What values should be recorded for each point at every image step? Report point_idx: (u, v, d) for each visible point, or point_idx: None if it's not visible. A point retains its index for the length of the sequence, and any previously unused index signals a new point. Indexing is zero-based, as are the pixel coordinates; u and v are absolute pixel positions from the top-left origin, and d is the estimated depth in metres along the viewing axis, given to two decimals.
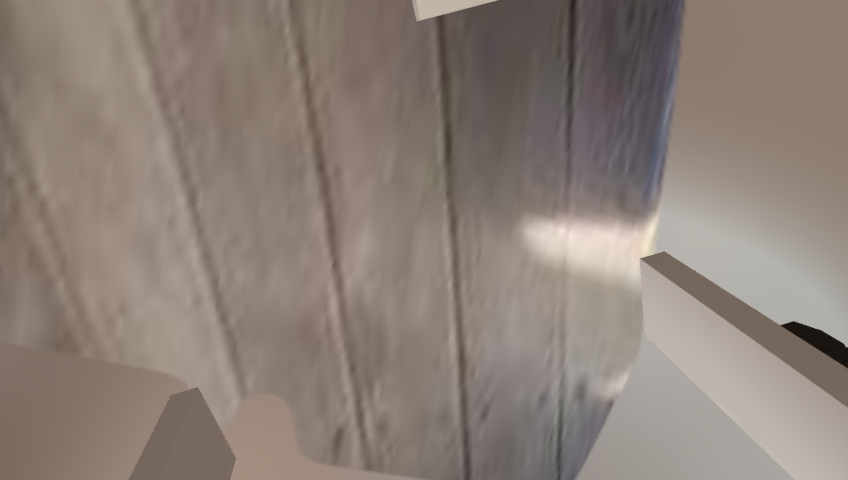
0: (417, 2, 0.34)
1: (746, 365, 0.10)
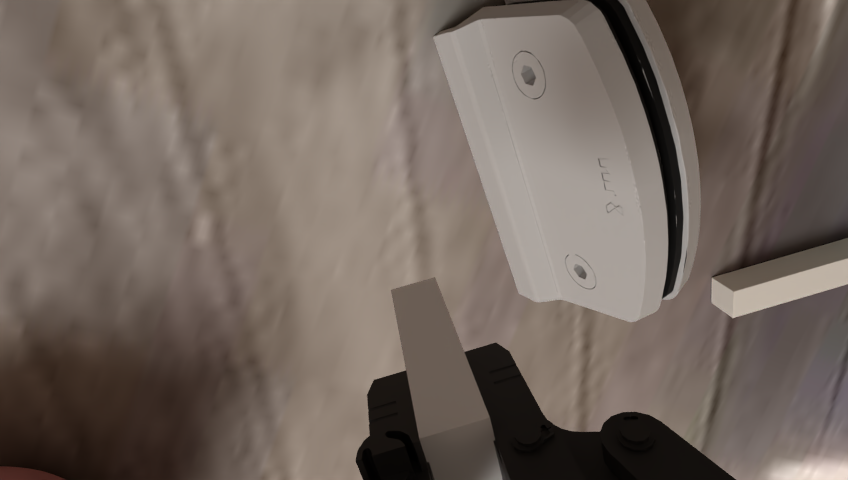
0: (734, 302, 0.31)
1: None
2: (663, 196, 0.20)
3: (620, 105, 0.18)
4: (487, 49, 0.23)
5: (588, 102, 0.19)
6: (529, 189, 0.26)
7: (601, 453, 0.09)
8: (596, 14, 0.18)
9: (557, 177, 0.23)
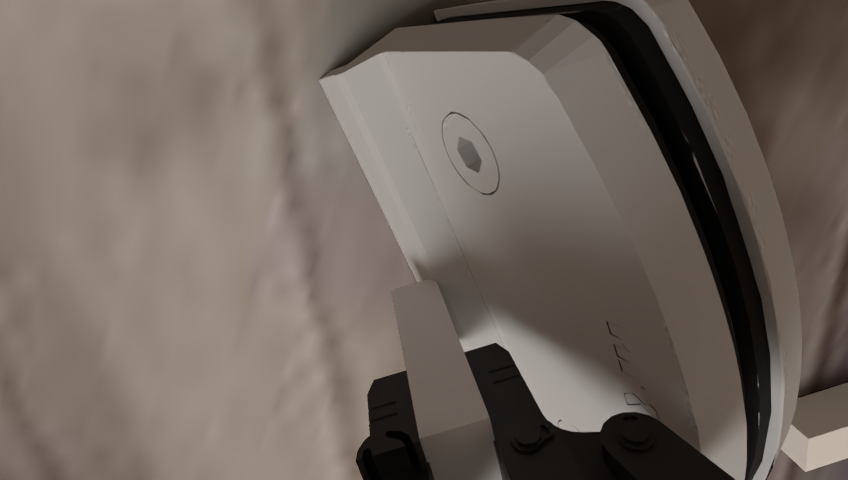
0: (808, 452, 0.21)
1: None
2: (741, 400, 0.10)
3: (651, 242, 0.08)
4: (401, 103, 0.13)
5: (580, 226, 0.09)
6: (494, 316, 0.16)
7: (601, 453, 0.09)
8: (590, 48, 0.08)
9: (535, 318, 0.13)
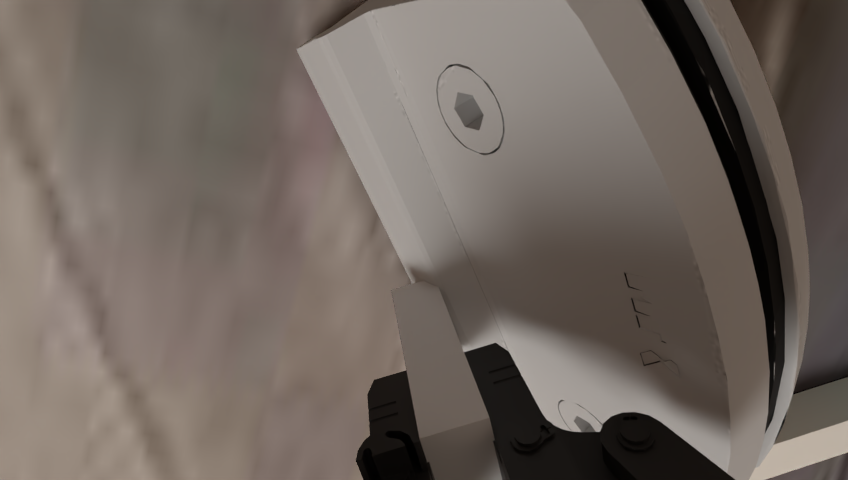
0: None
1: None
2: (765, 344, 0.09)
3: (679, 173, 0.08)
4: (390, 66, 0.12)
5: (600, 166, 0.09)
6: (489, 295, 0.15)
7: (601, 453, 0.09)
8: None
9: (537, 288, 0.13)
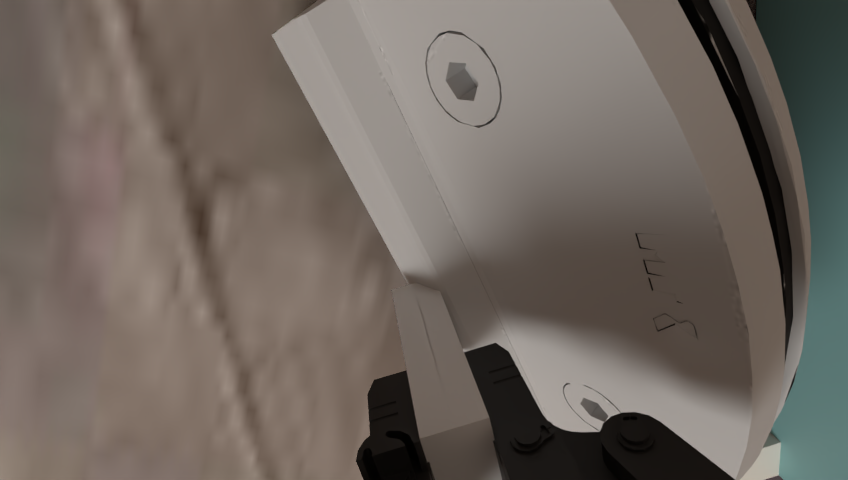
0: None
1: None
2: (780, 295, 0.09)
3: (693, 118, 0.08)
4: (374, 44, 0.12)
5: (608, 121, 0.09)
6: (486, 281, 0.15)
7: (600, 453, 0.09)
8: None
9: (540, 264, 0.12)
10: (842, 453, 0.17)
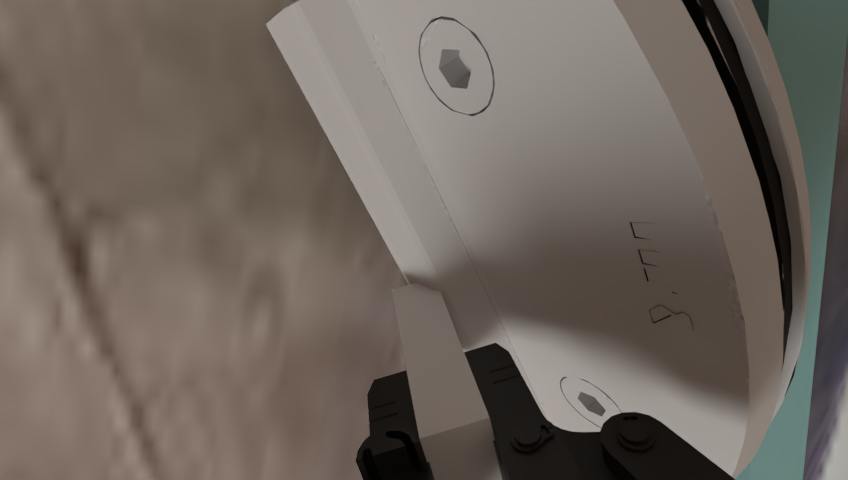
0: None
1: None
2: (778, 285, 0.09)
3: (687, 102, 0.08)
4: (367, 32, 0.12)
5: (601, 106, 0.08)
6: (482, 273, 0.14)
7: (601, 453, 0.09)
8: None
9: (535, 256, 0.12)
10: None
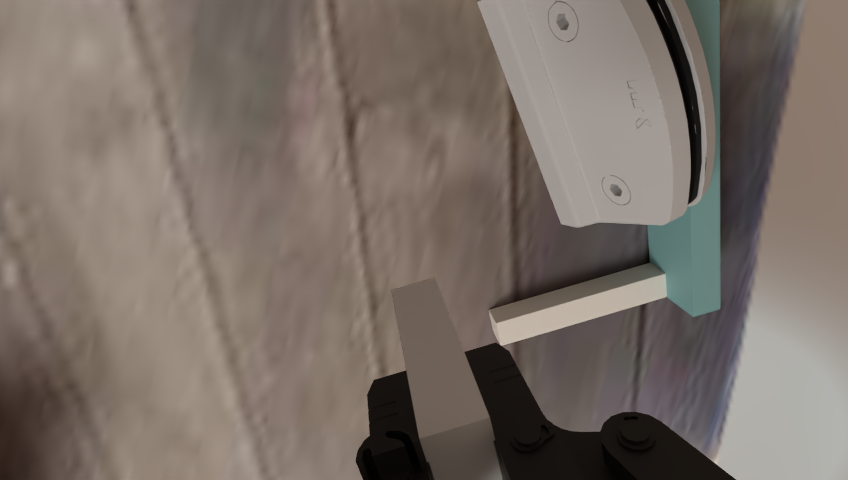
0: (499, 332, 0.35)
1: None
2: (683, 106, 0.24)
3: (642, 32, 0.23)
4: (525, 6, 0.27)
5: (615, 34, 0.24)
6: (567, 124, 0.30)
7: (601, 453, 0.09)
8: None
9: (591, 107, 0.28)
10: (687, 261, 0.32)
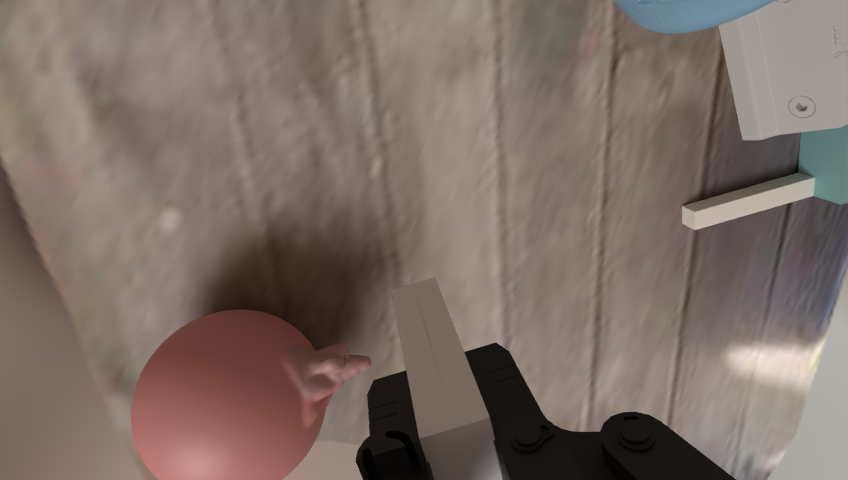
0: (695, 219, 0.49)
1: None
2: None
3: None
4: None
5: None
6: (766, 62, 0.43)
7: (601, 453, 0.09)
8: None
9: (794, 47, 0.41)
10: (841, 162, 0.46)
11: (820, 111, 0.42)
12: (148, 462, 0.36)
